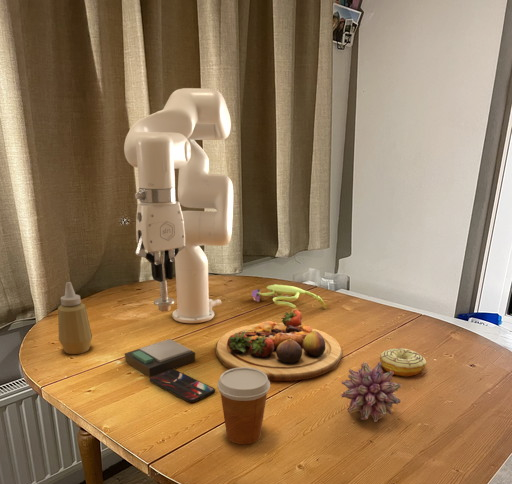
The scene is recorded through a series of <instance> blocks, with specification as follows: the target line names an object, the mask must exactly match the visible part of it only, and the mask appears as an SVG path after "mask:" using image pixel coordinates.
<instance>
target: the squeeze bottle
mask: <svg viewBox="0 0 512 484" xmlns="http://www.w3.org/2000/svg"><path fill="white" fill-rule="evenodd" d="M57 323H58V341H59V343H60V346H61V347H62V348H63V350H64V352H65V353H66V354H68V355H69V354H70V355H80V354H83V353H86V352H88V351H89V349H90V346H91V343H92V338H93V333H92V329H91V325H90V321H89V316H88V311H87V307H86V304H84V303H83V302H82V299H81V295H80V294H76V292H75V289H74V286H73V283H72V282H71V281H68V282H67V281H66V282H65V290H64V295H62V296H61V297H60V305H59V306H58V307H57Z"/></svg>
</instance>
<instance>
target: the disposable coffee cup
mask: <svg viewBox="0 0 512 484" xmlns="http://www.w3.org/2000/svg"><path fill="white" fill-rule="evenodd" d="M216 384H217V386H216V387H217V389H218V391H219V393H220V400H221V405H222V411H223V419H224V425H225V432H226V437H227V439H228V440H229V441H230V442H231V443H234V444H237V445H250V444H253V443H256V442H257V441H258V440H259V439H260V438H261V434H262V427H263V421H264V415H265V408H266V404H267V403H266V402H267V396H268V392H269V390H270V389H271V382H270V380H268V377H267V375H266V374H265V373H264V372H262V371H261V370H258V369H255V368H248V367H239V368H233V369H230V368H229V369H227V370H226V371H223V372H222V373H221V375H219V380H218V381H217V383H216Z"/></svg>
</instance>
